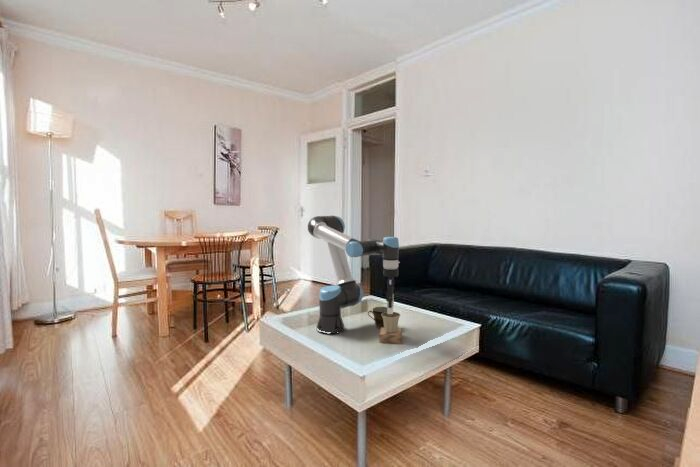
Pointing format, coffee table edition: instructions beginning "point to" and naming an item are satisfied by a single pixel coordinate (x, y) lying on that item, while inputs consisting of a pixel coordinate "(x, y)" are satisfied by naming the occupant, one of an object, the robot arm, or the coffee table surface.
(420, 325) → the coffee table surface
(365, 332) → the coffee table surface
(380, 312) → the ceramic cup
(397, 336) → the stand
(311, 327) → the coffee table surface
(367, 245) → the robot arm
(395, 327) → the flower pot
